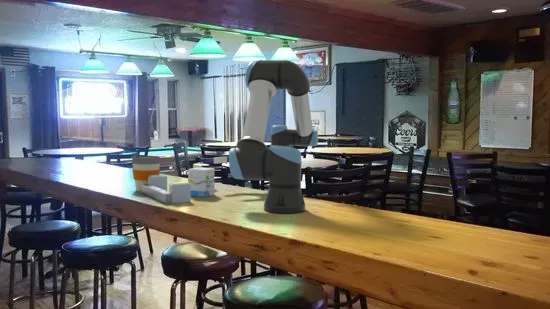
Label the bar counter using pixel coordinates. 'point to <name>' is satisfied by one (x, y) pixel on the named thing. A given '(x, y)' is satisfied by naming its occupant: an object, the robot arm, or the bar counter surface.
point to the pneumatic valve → (201, 165)
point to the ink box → (201, 181)
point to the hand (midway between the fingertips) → (221, 161)
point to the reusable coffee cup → (144, 169)
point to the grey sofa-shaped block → (172, 188)
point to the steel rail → (157, 193)
